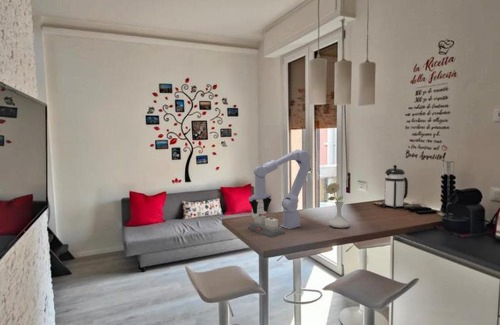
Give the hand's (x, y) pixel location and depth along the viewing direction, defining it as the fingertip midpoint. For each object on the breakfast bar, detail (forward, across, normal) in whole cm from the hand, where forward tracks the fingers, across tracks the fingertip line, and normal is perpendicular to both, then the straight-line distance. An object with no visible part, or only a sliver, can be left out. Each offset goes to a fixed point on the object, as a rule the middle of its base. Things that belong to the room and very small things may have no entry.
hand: (260, 212), depth 179 cm
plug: (+8, 0, 0) cm, 8 cm away
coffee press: (+10, -108, +19) cm, 111 cm away
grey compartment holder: (+9, 0, +5) cm, 11 cm away
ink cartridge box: (+10, -16, -20) cm, 27 cm away
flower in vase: (+10, -36, +24) cm, 45 cm away
